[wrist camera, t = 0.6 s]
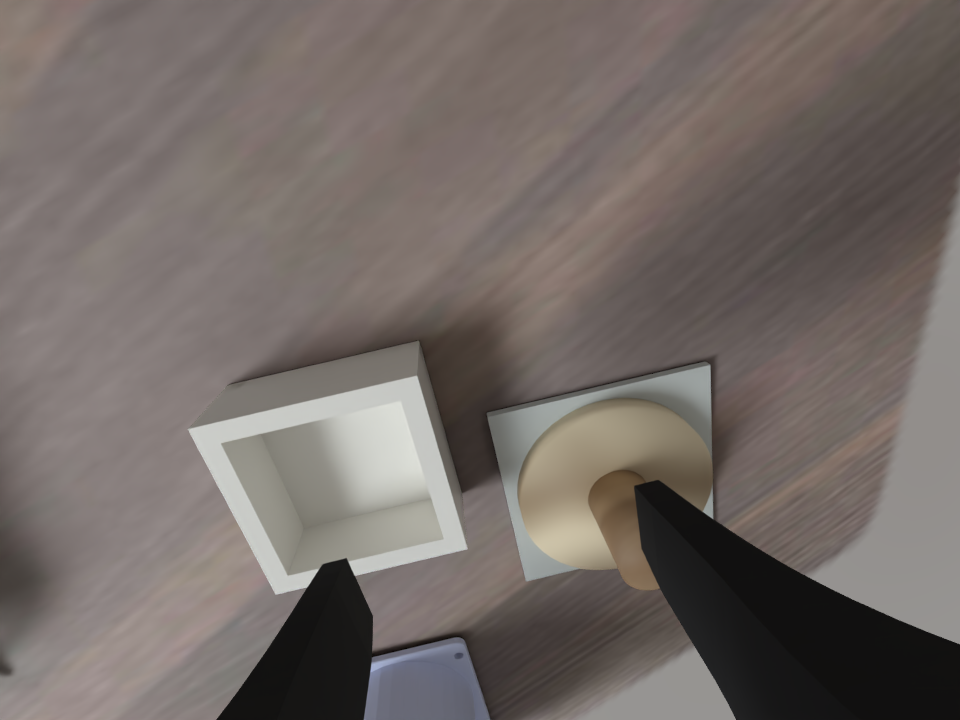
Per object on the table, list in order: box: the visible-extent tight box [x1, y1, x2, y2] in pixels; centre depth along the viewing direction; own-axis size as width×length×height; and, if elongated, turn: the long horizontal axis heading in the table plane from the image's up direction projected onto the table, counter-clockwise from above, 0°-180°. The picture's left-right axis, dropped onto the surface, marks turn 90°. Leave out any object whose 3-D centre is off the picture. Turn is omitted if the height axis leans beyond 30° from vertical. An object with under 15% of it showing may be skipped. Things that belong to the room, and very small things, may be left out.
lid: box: [517, 398, 713, 590], centre depth 20 cm, size 9×9×5 cm
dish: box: [188, 341, 468, 594], centre depth 19 cm, size 8×8×4 cm
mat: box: [487, 361, 713, 581], centre depth 23 cm, size 10×10×1 cm
